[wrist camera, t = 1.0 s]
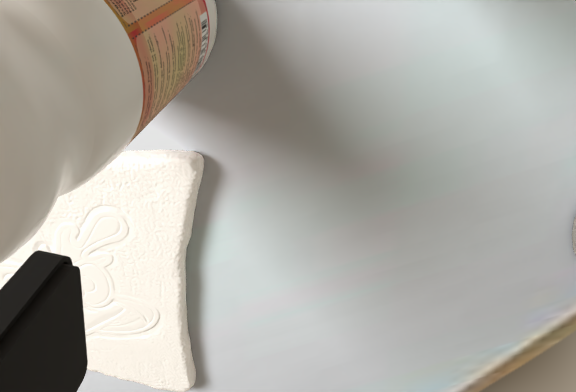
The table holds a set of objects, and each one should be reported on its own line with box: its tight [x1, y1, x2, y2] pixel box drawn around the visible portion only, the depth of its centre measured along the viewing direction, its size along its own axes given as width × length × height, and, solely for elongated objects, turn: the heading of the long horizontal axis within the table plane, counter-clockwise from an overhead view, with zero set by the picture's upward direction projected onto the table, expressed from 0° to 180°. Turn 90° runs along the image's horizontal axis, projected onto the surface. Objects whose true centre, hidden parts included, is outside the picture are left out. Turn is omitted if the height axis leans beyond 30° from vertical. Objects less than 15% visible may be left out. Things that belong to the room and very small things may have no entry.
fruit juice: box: [0, 0, 217, 263], centre depth 20 cm, size 9×9×28 cm
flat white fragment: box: [0, 150, 204, 392], centre depth 43 cm, size 21×4×25 cm
